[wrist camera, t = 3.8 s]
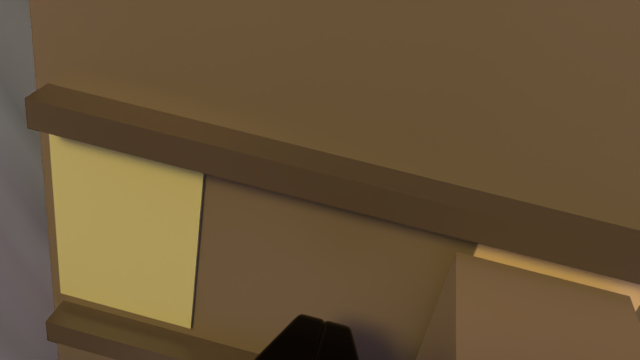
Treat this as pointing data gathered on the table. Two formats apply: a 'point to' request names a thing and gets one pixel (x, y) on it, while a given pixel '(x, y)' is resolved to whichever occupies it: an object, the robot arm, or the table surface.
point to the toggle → (526, 317)
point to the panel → (324, 163)
